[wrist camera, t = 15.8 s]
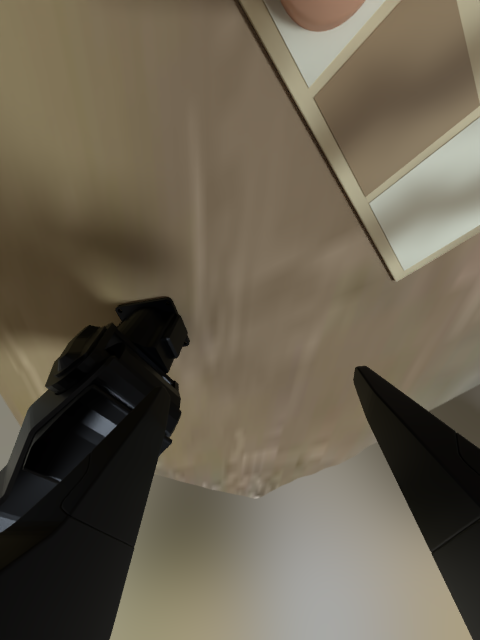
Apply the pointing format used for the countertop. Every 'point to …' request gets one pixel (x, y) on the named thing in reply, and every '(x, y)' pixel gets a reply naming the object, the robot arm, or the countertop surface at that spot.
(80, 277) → the countertop surface
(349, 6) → the tan knob handle
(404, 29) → the board
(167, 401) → the robot arm
